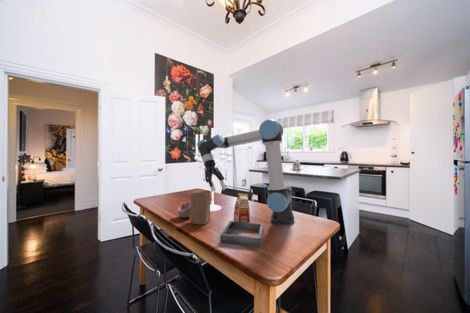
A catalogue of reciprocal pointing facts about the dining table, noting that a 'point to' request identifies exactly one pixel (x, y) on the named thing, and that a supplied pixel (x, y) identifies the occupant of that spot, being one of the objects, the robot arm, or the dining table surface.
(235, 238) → the carton holder
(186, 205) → the mortar and pestle
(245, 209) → the milk carton
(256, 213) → the dining table surface
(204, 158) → the robot arm
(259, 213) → the dining table surface
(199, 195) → the wooden block
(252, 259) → the dining table surface
